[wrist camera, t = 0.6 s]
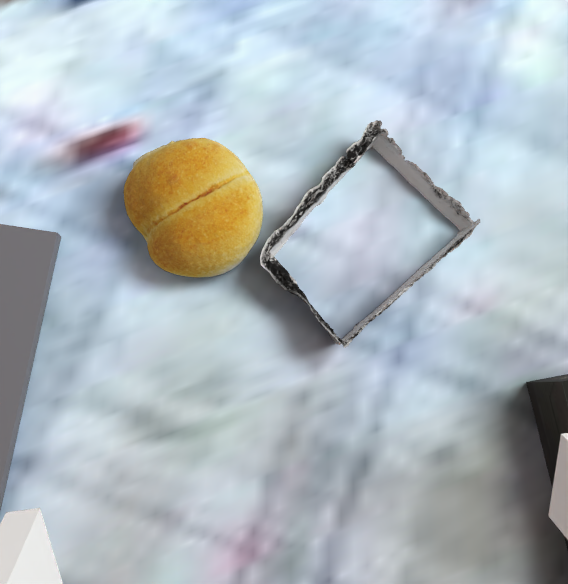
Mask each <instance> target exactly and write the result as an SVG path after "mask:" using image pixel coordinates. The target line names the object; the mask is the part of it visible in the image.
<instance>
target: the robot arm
mask: <svg viewBox="0 0 568 584" xmlns="http://www.w3.org/2000/svg"><path fill="white" fill-rule="evenodd" d="M548 516H549V517H550V519H551V520H552V521H553V522H554V523H555V525H556V526H557V527H558V528H559V530H560V531H561V532H562V533H563V535H564V536H565V537H566V538H567V539H568V433H564V434H561V437H560V444H559V450H558V457H557V463H556V470H555V476H554V482H553V489H552V495H551V502H550V508H549V515H548ZM0 584H63V583H62V579H61V576H60V573H59V569H58V566H57V563H56V559H55V556H54V553H53V549H52V546H51V543H50V539H49V536H48V533H47V529H46V526H45V523H44V519H43V516H42V513H41V510H40V508H36V509H29V510H22V511H14V512H7V513H6V514H5V516H4V518H3V520H2V522H1V524H0Z"/></svg>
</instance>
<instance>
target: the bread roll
mask: <svg viewBox="0 0 568 584" xmlns="http://www.w3.org/2000/svg"><path fill="white" fill-rule="evenodd" d="M124 201H125V207H126V211H127V215H128V216H129V218H130V220H131V222H132V224H133V225H134V226H135V227H136V229H137V230H138V231H139V232H140V233H141V234H142V235H143V236H144V238H145V240H146V242H147V243H148V245H147V247H148V251H149V255H150V257H151V259H152V260H153V261H154V263H155V264H157V265H158V266H159V267H160V268H161V269H163V270H165V271H167V272H170V273H173V274H176V275H181V276H187V277H212V276H217V275H221V274H224V273H226V272H228V271H230V270H232V269H233V268H235V267H236V266H238V265H239V264H240V263H241V262H242V261H243V260H244V258H245V257H246V256H247V254H248V253H249V251H250V250H251V248H252V247H253V245H254V244H255V242H256V240H257V239H258V236H259V233H260V229H261V226H262V218H263V206H262V197H261V194H260V190H259V188H258V186H257V184H256V182H255V180H254V179H253V177H252V176H251V175H250V173H249V172H248V171H247V169H246V168H245V166H244V165H243V163H242V162H241V161H240V160H239V158H238V157H237V156H236V155H235V154H234V153H232V152H231V151H230V150H228V149H227V148H226V147H224V146H223V145H221V144H220V143H218V142H215V141H212V140H209V139H206V138H192V139H187V140H179V141H176V142H174V141H171V142H170V143H169V144H167V145H163V146H161V147H159V148H157V149H155V150H153V151H151V152H148V153H146V154H144V155H142V156H141V157H140V158H139V159H137V160H136V161H135V162H134V164H133V169H132V171H131V172H130V174H129V176H128V178H127V180H126V183H125V185H124Z"/></svg>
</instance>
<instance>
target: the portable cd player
mask: <svg viewBox="0 0 568 584" xmlns="http://www.w3.org/2000/svg"><path fill="white" fill-rule="evenodd" d="M526 383H527V387H528V391H529V395H530V399H531V403H532V407H533V411H534V415H535V419H536V423H537V427H538V431H539V435H540V440H541V444H542V448H543V452H544V456H545V460H546V464H547V468H548V472H549V476H550V480H551V484H552V488H553V482H554V476H555V470H556V463H557V457H558V450H559V444H560V437H561V434H564V433H568V374H567V375H561V376H556V377H551V378H546V379H540V380H535V381H530V382H526ZM564 537H565V536H564ZM565 541H566V545H567V549H568V539H567V538H566V537H565Z"/></svg>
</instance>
